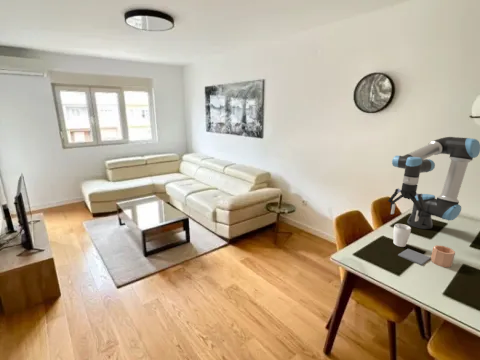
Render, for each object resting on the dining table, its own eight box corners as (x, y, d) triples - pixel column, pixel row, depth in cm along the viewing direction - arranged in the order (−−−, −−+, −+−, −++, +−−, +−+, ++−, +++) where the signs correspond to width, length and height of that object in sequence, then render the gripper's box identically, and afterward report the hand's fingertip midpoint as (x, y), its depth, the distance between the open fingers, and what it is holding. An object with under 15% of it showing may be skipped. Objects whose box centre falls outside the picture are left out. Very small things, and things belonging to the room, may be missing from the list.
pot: (435, 256, 149) (437, 244, 147) (453, 263, 142) (457, 250, 140) (428, 261, 144) (431, 248, 142) (447, 269, 137) (450, 255, 135)
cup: (410, 248, 157) (413, 230, 154) (394, 247, 159) (397, 229, 156) (404, 241, 166) (407, 224, 163) (389, 240, 168) (392, 222, 165)
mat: (407, 249, 156) (407, 248, 156) (430, 258, 147) (430, 257, 146) (397, 255, 150) (398, 254, 149) (421, 265, 140) (421, 264, 140)
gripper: (385, 179, 161) (380, 212, 166) (431, 189, 141) (424, 225, 146) (391, 178, 165) (386, 209, 170) (437, 187, 145) (430, 222, 150)
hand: (403, 217), depth 158 cm, fingers open, 13 cm apart
